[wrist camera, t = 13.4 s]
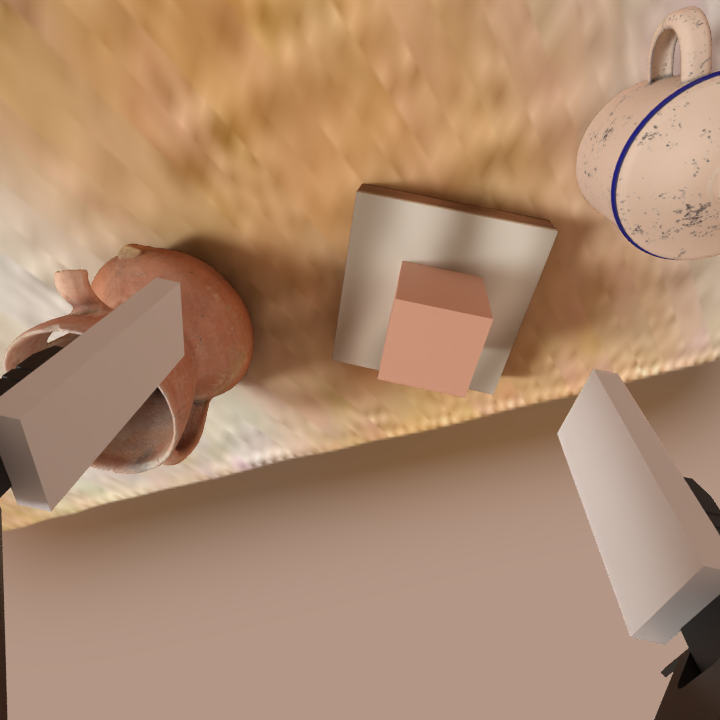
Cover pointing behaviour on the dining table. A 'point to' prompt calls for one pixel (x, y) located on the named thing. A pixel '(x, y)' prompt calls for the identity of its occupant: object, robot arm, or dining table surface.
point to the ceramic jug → (191, 374)
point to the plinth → (440, 250)
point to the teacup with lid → (661, 148)
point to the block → (435, 329)
